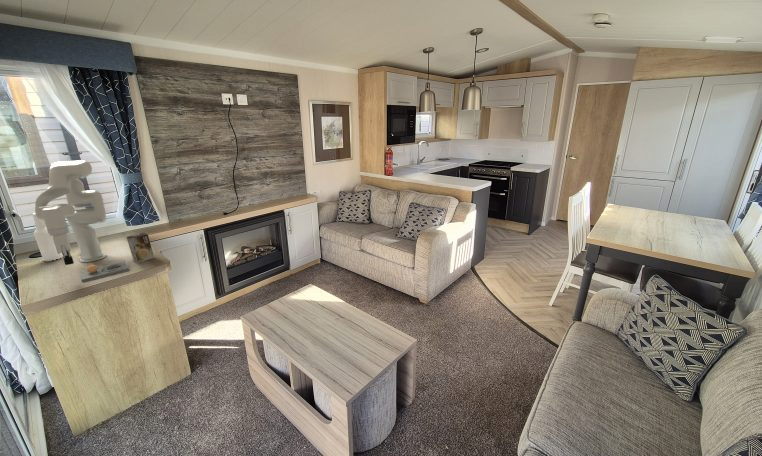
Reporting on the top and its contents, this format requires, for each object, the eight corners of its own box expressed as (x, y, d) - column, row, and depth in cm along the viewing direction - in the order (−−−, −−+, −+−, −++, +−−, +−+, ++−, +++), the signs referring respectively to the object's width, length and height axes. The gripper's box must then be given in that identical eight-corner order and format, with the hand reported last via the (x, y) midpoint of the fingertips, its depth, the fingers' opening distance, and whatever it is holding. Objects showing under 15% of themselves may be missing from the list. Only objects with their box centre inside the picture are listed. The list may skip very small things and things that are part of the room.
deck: (82, 282, 167) (81, 279, 167) (81, 273, 177) (80, 271, 177) (129, 270, 180) (128, 268, 180) (126, 263, 190) (125, 260, 190)
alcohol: (67, 256, 202) (51, 211, 192) (51, 262, 193) (34, 215, 184) (55, 255, 203) (39, 210, 193) (39, 261, 195) (21, 214, 185)
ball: (85, 274, 173) (83, 266, 172) (93, 270, 177) (90, 263, 176) (93, 274, 173) (90, 267, 171) (100, 270, 177) (98, 263, 176)
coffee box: (149, 256, 201) (143, 232, 195) (154, 258, 197) (148, 233, 192) (133, 261, 193) (126, 236, 188) (137, 263, 190) (130, 238, 185)
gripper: (49, 229, 165) (60, 262, 170) (47, 235, 154) (59, 270, 159) (68, 226, 169) (79, 258, 175) (68, 232, 159) (79, 265, 164)
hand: (69, 263), depth 167 cm, fingers closed
